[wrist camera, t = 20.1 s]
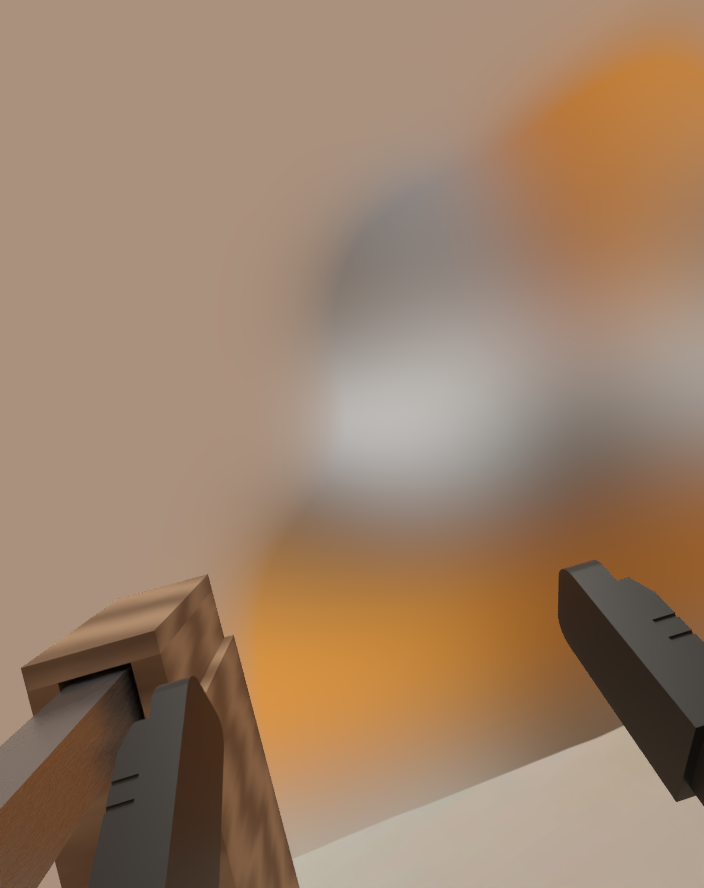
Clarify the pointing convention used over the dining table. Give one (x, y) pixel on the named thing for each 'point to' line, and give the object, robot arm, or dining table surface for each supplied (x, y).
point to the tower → (154, 663)
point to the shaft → (60, 769)
